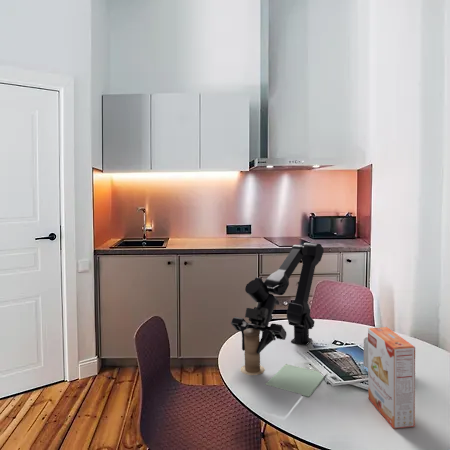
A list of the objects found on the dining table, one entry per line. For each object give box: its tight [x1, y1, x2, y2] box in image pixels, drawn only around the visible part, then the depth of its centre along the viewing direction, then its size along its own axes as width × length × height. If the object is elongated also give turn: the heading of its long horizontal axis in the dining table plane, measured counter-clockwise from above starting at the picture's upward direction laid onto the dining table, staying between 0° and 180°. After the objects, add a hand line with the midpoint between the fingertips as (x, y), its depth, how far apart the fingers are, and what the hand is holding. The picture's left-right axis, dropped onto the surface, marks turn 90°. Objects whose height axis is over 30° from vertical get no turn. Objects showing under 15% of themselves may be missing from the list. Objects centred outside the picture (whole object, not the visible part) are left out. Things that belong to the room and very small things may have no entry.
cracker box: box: [367, 326, 416, 430], centre depth 102 cm, size 14×6×21 cm, turn 5°
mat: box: [264, 363, 325, 398], centre depth 122 cm, size 16×14×1 cm
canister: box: [244, 328, 261, 373], centre depth 128 cm, size 5×5×13 cm
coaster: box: [240, 364, 266, 376], centre depth 129 cm, size 8×8×1 cm
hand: (250, 351), depth 127 cm, fingers closed on canister, 5 cm apart
